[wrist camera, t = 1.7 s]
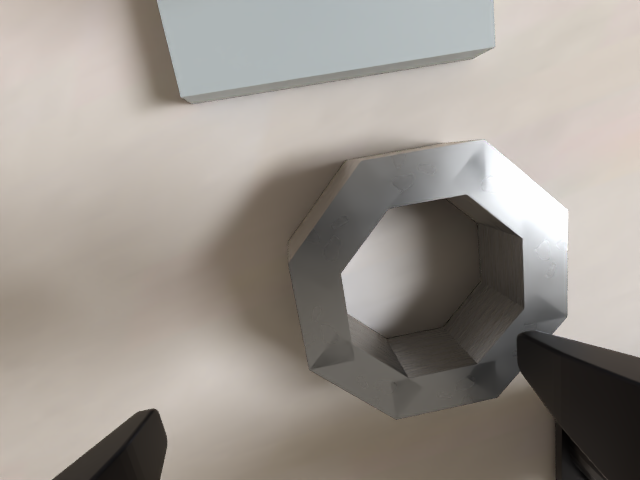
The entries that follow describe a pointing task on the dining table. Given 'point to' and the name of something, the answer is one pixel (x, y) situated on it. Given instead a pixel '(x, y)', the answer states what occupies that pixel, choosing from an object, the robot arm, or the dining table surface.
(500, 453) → the dining table surface
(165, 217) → the dining table surface
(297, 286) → the steel ring
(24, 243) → the dining table surface
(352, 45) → the piston base
